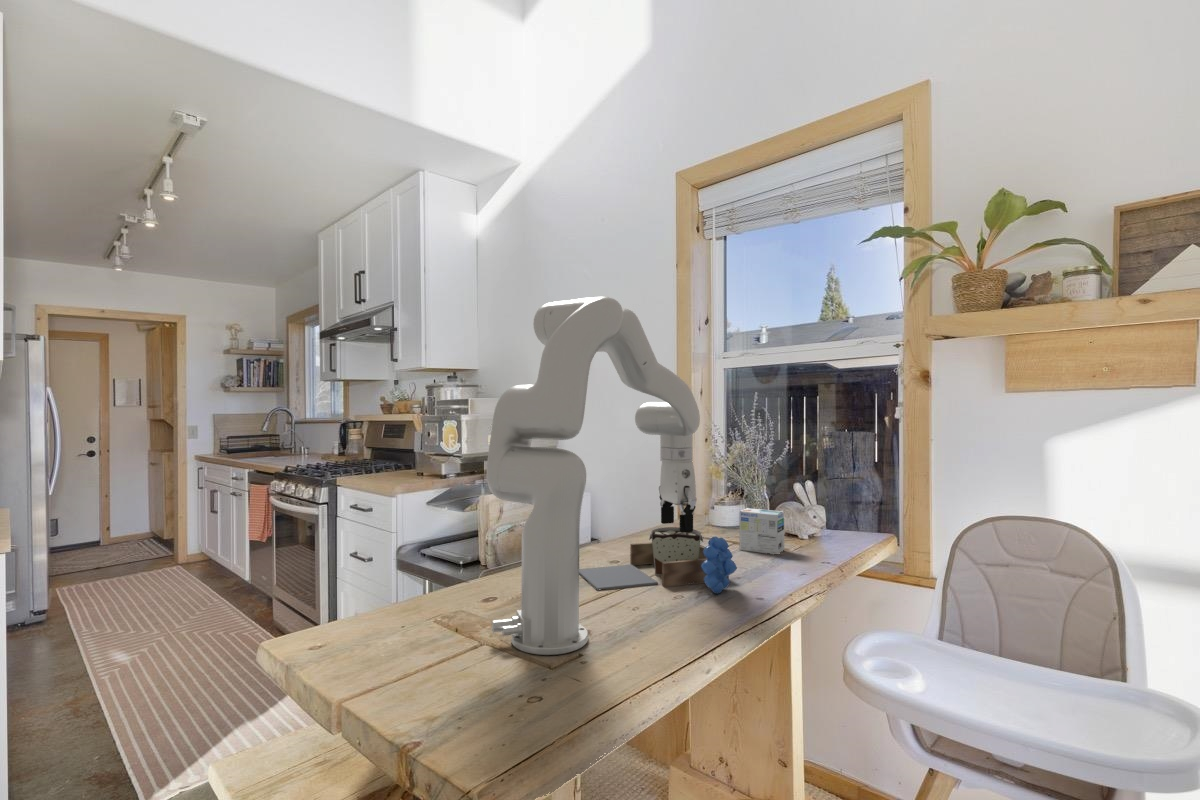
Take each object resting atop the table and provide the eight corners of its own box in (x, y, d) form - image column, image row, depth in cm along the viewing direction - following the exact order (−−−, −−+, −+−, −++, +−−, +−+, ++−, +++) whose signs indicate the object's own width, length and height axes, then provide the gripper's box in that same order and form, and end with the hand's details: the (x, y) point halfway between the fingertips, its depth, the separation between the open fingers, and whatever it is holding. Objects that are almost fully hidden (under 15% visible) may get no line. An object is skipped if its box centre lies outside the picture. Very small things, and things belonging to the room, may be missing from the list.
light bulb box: (785, 550, 160) (785, 510, 160) (778, 555, 155) (778, 514, 155) (746, 545, 166) (746, 506, 166) (738, 550, 160) (738, 510, 160)
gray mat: (597, 590, 124) (597, 588, 124) (576, 571, 138) (576, 569, 138) (657, 584, 129) (657, 582, 129) (631, 566, 143) (631, 564, 143)
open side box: (663, 586, 127) (664, 563, 127) (630, 564, 145) (630, 543, 145) (728, 580, 132) (728, 557, 132) (688, 559, 150) (688, 539, 150)
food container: (701, 569, 141) (701, 527, 141) (703, 576, 135) (703, 532, 135) (649, 567, 142) (649, 526, 142) (648, 574, 136) (649, 531, 136)
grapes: (725, 604, 116) (725, 543, 116) (694, 598, 120) (694, 538, 120) (747, 590, 125) (748, 533, 125) (718, 584, 129) (718, 529, 129)
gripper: (709, 457, 132) (709, 534, 132) (674, 450, 148) (674, 519, 148) (678, 459, 129) (679, 537, 130) (646, 452, 146) (647, 521, 146)
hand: (676, 527), depth 139 cm, fingers open, 9 cm apart
